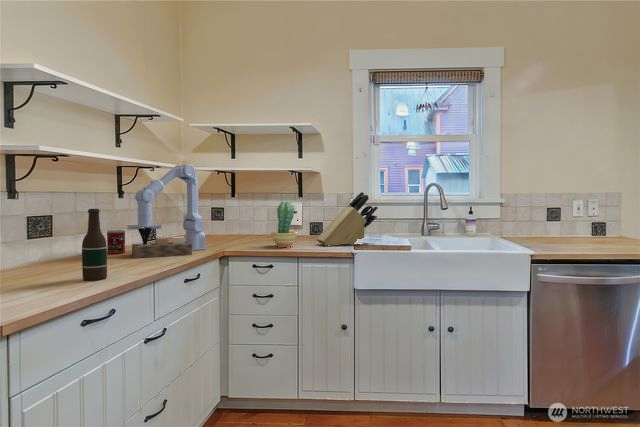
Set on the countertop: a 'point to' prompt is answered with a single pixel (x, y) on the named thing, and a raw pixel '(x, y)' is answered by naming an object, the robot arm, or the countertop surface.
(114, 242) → the canned food
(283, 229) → the potted cactus
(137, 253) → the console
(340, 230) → the knife block
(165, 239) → the key terracotta
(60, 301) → the countertop surface
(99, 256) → the beer bottle
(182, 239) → the key cream
